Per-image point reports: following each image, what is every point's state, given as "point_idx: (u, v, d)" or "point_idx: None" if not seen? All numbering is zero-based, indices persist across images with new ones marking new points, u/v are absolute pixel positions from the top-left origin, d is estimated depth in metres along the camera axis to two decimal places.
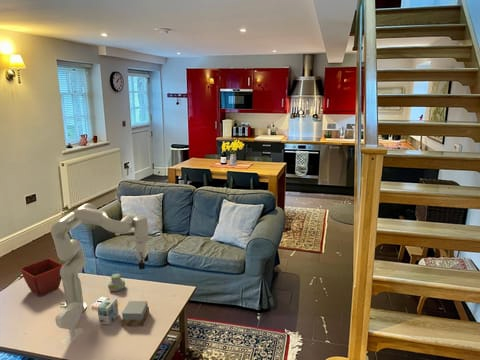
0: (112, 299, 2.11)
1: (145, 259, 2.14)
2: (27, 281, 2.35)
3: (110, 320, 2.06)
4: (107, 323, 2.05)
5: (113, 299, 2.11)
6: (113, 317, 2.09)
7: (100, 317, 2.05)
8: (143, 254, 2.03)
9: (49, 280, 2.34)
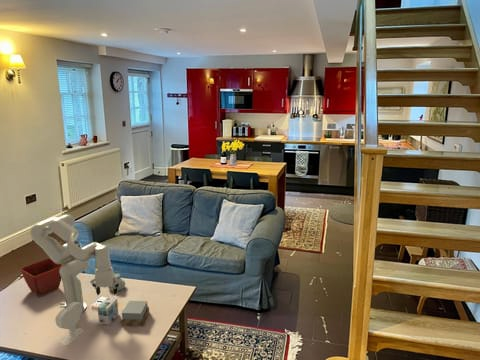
0: (112, 299, 2.11)
1: (99, 291, 2.06)
2: (27, 281, 2.35)
3: (110, 320, 2.06)
4: (107, 323, 2.05)
5: (113, 299, 2.11)
6: (113, 317, 2.09)
7: (100, 317, 2.05)
8: (114, 278, 2.05)
9: (49, 280, 2.34)
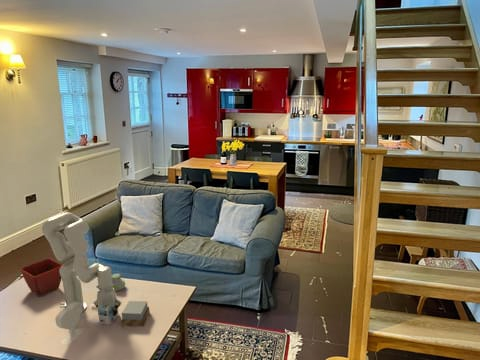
0: None
1: None
2: (27, 281, 2.35)
3: (110, 320, 2.06)
4: (107, 323, 2.05)
5: None
6: (113, 317, 2.09)
7: (100, 317, 2.05)
8: None
9: (49, 280, 2.34)
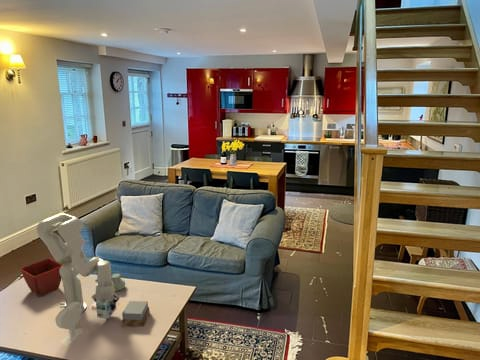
0: None
1: None
2: (27, 281, 2.35)
3: (108, 314, 2.05)
4: (105, 317, 2.04)
5: None
6: (111, 312, 2.09)
7: (98, 311, 2.04)
8: (115, 294, 2.08)
9: (49, 280, 2.34)
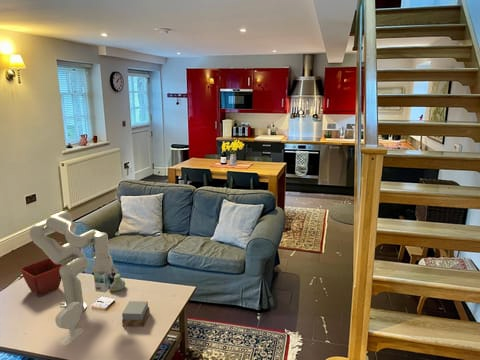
0: None
1: None
2: (27, 281, 2.35)
3: (107, 288, 2.01)
4: (104, 291, 2.00)
5: None
6: (110, 285, 2.04)
7: (96, 284, 2.00)
8: None
9: (49, 280, 2.34)
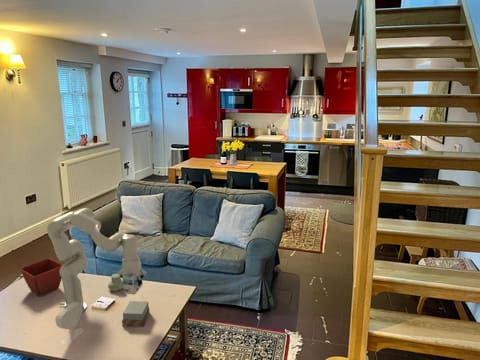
0: None
1: None
2: (27, 281, 2.35)
3: (135, 290, 2.01)
4: (132, 293, 2.00)
5: None
6: (138, 287, 2.04)
7: (125, 287, 2.00)
8: None
9: (49, 280, 2.34)
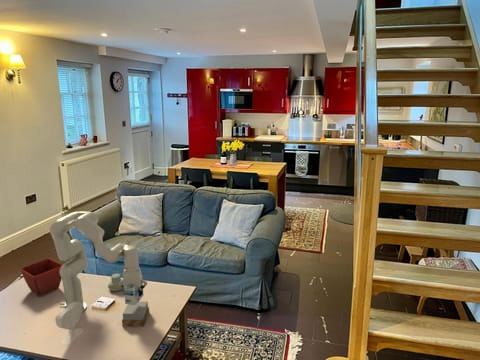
0: None
1: None
2: (27, 281, 2.35)
3: (136, 300, 2.02)
4: (133, 303, 2.01)
5: None
6: (139, 298, 2.06)
7: (126, 297, 2.01)
8: None
9: (49, 280, 2.34)
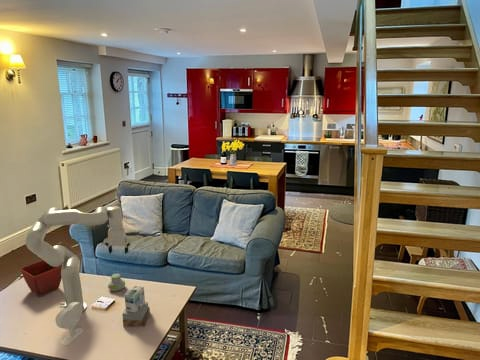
0: (139, 287, 2.09)
1: (111, 250, 2.20)
2: (27, 281, 2.35)
3: (137, 308, 2.03)
4: (134, 311, 2.02)
5: (140, 287, 2.09)
6: (140, 306, 2.07)
7: (127, 304, 2.03)
8: None
9: (49, 280, 2.34)
